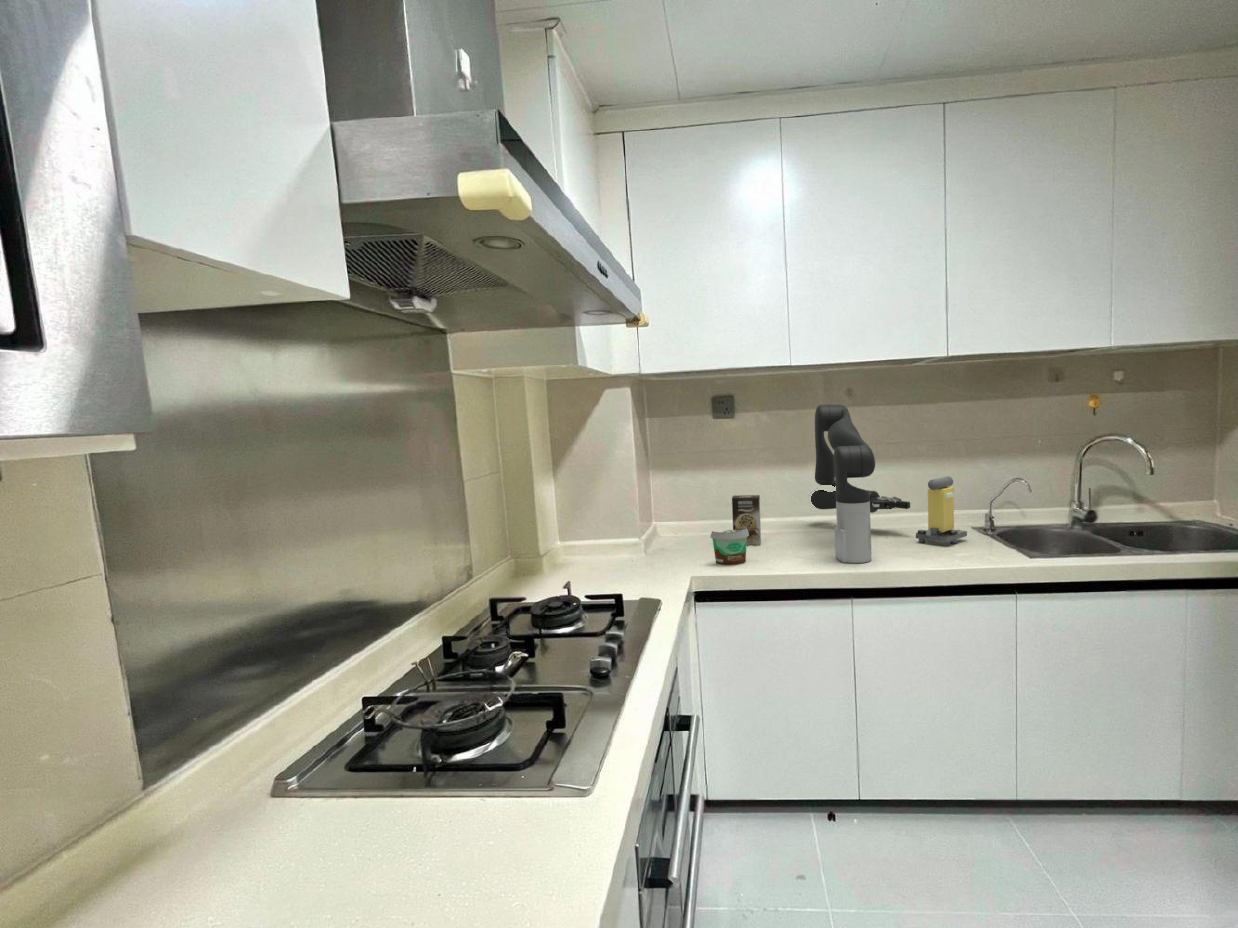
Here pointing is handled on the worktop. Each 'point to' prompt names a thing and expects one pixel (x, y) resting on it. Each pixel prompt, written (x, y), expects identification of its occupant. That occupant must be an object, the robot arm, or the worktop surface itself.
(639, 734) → the worktop surface
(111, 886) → the worktop surface
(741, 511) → the coffee box
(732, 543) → the food container
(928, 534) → the tribrach
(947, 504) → the grey-capped yellow box
